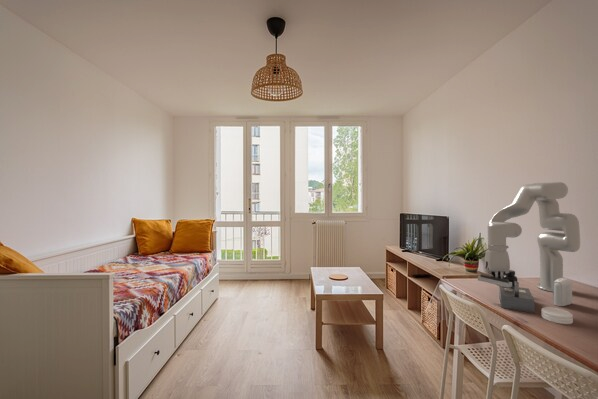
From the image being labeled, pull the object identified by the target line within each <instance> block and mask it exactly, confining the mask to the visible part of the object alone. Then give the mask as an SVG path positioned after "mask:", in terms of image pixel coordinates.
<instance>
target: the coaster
mask: <svg viewBox="0 0 598 399" xmlns="http://www.w3.org/2000/svg"><path fill="white" fill-rule="evenodd" d="M540 313H541V315H540V316H541V317H542V319H544V320H545V321H549V322H551V323H556V324H560V325H572V324H573V323H574V315H573V313H572V312H570V311H567V310H565V309H562V308H556V307H550V306H546V307H545V306H544V307H542V308H541V312H540Z"/></svg>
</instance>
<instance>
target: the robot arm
mask: <svg viewBox="0 0 598 399" xmlns="http://www.w3.org/2000/svg"><path fill="white" fill-rule="evenodd" d="M568 193H569V187H568V186H567V184H566V183H564V182H561V181H558V182H557V181H556V182H555V181H554V182H536V183H530V184H529V183H528V184H523V185H522V186H520V187H519V189H518V191H517V192H516V193H515V196H514V198H513V199H512V201H511V203H510V204H508V205H507V206H505V207H503V208H501V209H500V210H498V211H497V212H496V213H495V214H493V215H492V218H491V219H490V220H489V223H488V225H487V250H485V255H484V264H483V265H484V266H483V267H484V269H485V273H487V274H488V275H489V274H490V276H493V277H498V278H502V277H503V275H504V274H507V273H509V270H511V262H510V256H509V252H508V251H507V249H509V245H507V238H512V239H513V238H517V237H520V236H521V234H522V232H523V231H522V229H523V228H522V227H521V225H520V224H518V223H516V222H508V220H510V219H514V218H518V217H521V216H524V215H527V214H528V213H529V212H530V210H531V209H532V207H533V205H534V203H535V202H536V203H537V206H538V214H539V215H538V216H539V225H540V227H541V228H542V229H543V230H548V231H544V232H541V233H539V234H538V236H537V240H536V241H537V244H538V249H539V250H538V251H539V278H540V279H539V281H540V283H537V284H536V288H538V289H539V290H540V289H541V290H542V291H543V290H544V291H548V292H551V293H553V283H554V281H556V280H557V279H560V278H564V258H563V256H562V255H561V253H560V251H561V252H569V253H575V252H577V251H579V250H580V248H581V234H580V232H581V231H580V222H579V218H578V217H577V216H576V214H575V215H574V214H572V213H567V212H563V213H562V212H561V211H560V205H559V202H558V200H560V199H564V198H565V197H566V196H567V195H568ZM554 231H557V232H554ZM558 231H559V232H558ZM562 232H564V233H562ZM494 285H496V284H494ZM496 286H498V287H499V285H496Z"/></svg>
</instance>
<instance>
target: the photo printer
mask: <svg viewBox="0 0 598 399" xmlns="http://www.w3.org/2000/svg"><path fill="white" fill-rule="evenodd" d="M571 304H573V283H572V281H571V280H570V279H569V278H565V277H563V278H560V279H557V280H556V281H554V283H553V292H552V305H555V306H556V307H557V306H558V307H566V306H570V305H571Z"/></svg>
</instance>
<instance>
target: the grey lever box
mask: <svg viewBox="0 0 598 399" xmlns="http://www.w3.org/2000/svg"><path fill="white" fill-rule="evenodd" d="M498 290H499V291H498V294H499V295H498V296H499V302H500V308H501V309H507V310H514V311H519V312H526V313H530V314H535V299H534V297H533V295H532V292H531V291H530V289H529V288H528V287H520V282H519V281H518V282H514V287H504V286H500V285H499V286H498Z"/></svg>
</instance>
